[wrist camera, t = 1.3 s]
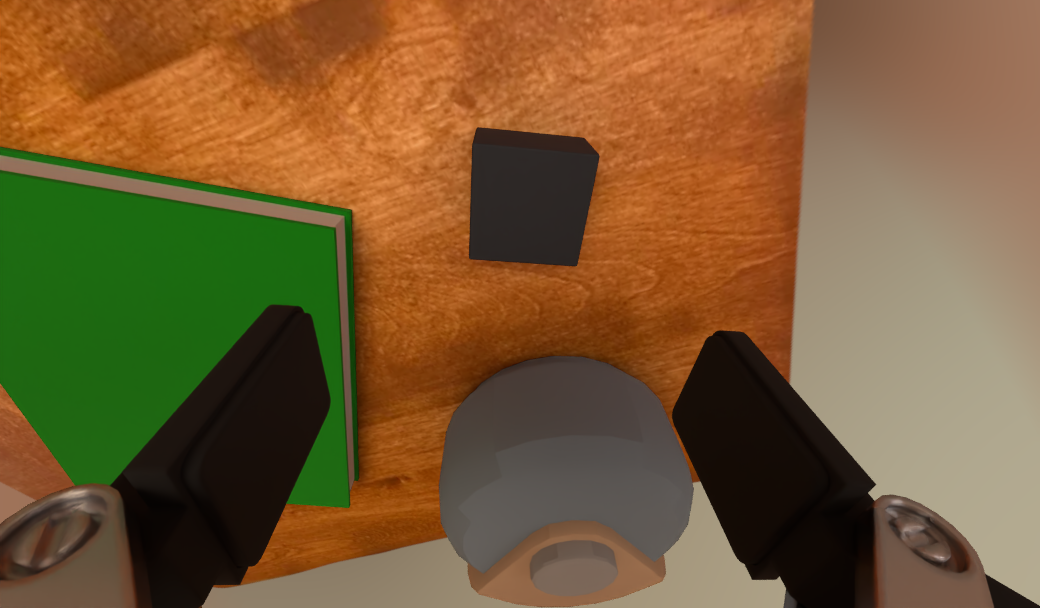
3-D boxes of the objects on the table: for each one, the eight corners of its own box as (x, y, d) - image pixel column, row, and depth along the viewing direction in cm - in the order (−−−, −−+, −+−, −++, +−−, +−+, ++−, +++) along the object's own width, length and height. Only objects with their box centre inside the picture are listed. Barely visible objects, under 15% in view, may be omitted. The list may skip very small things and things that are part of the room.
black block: (584, 137, 22) (600, 155, 18) (567, 237, 25) (577, 267, 22) (476, 126, 21) (472, 143, 18) (473, 230, 24) (468, 259, 21)
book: (351, 209, 23) (333, 229, 21) (359, 477, 38) (349, 507, 36) (-106, 127, 20) (-192, 140, 17) (101, 457, 35) (70, 488, 33)
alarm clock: (463, 496, 41) (451, 642, 31) (430, 353, 30) (395, 510, 20) (643, 484, 41) (688, 625, 31) (677, 338, 30) (766, 486, 20)
